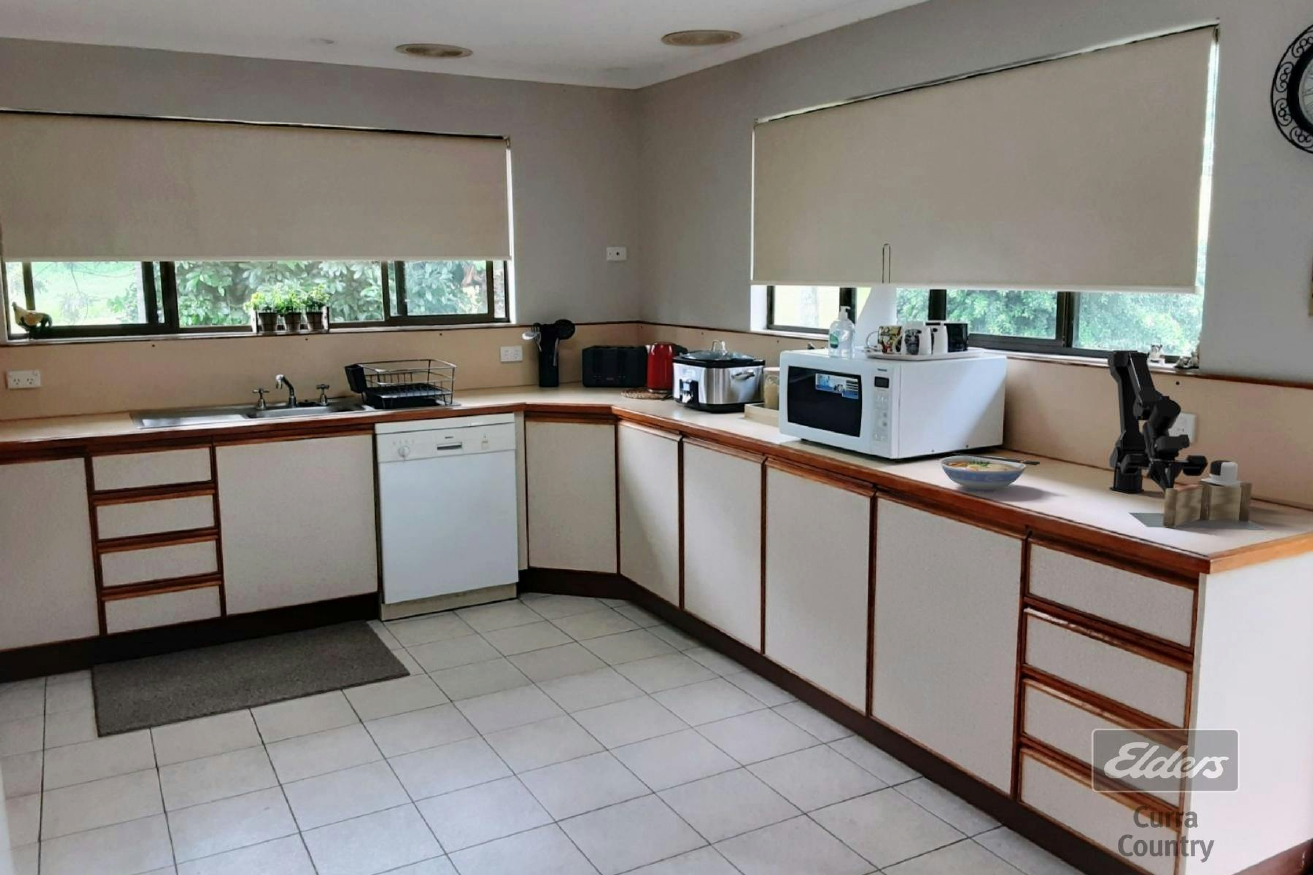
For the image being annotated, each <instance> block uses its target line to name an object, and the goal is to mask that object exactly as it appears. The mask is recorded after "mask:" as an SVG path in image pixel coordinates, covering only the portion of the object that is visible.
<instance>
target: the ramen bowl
mask: <svg viewBox="0 0 1313 875" xmlns="http://www.w3.org/2000/svg"><path fill="white" fill-rule="evenodd" d="M951 454H953V455H955V456H949V457H944V458H942V459H939V462H940V463H939V464H940V466H941V468H942V470H943V472H944V473H945V474H946V476H947V477H948V479H949V480H951V481H952V482H954V483H956V484H958V485H960V486H962V487H965V488H966V489H967V490H969V491H973V492H978V491H980V492H982V493H983V491H984V493H987V492H986V491H991V492H994V491H996V490H998V489H1002V488H1005V487H1008V486H1009V485H1011V484H1013V483H1015V481H1017V480H1018V478H1019V479H1020V477H1021V475H1022V474H1023V473H1024V471H1025V470H1026V468H1027V465H1030V466H1037V465H1040V463H1041V462H1040V461H1035V460H1034V461H1033V460H1024V459H1013V458H1006V457H1003V456H1002V457H1000V456H990V455H976V454H966V453H958V452H957V453H956V452H952V453H951ZM980 492H979V493H980Z"/></svg>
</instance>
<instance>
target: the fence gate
mask: <svg viewBox="0 0 1313 875" xmlns="http://www.w3.org/2000/svg"><path fill="white" fill-rule="evenodd" d="M1202 488H1203V485H1202V484H1198V483H1192V484H1187V485H1183V486H1182V485H1181V486H1179V487H1174V488H1166V493H1165V492H1164V493H1165V496H1164V508H1163V513H1164V518H1163V525H1164V526H1168V527H1174V526H1175V525H1178V524H1182V523H1186V522H1190V521H1194V520H1198V519H1200V510H1201V498H1202Z"/></svg>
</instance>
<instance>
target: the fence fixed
mask: <svg viewBox="0 0 1313 875" xmlns="http://www.w3.org/2000/svg"><path fill="white" fill-rule="evenodd" d="M1197 484H1202V485H1203V488H1202V498H1201V510H1200V519H1198V520H1206V517H1207V519H1209V520H1230V521H1249V519H1250V509H1251V508H1250V507H1251V499H1252V498H1251V497H1252V486H1253V483H1251V482H1246V481H1242V482H1241V483H1240V487H1231V486H1210V489H1209V482H1204V481H1201V480H1200V481H1197ZM1208 494H1209V501H1208ZM1207 505H1208V507H1207Z"/></svg>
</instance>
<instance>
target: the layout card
mask: <svg viewBox="0 0 1313 875" xmlns="http://www.w3.org/2000/svg"><path fill="white" fill-rule="evenodd" d="M1128 514H1129V515H1131V517H1134V519H1136V520H1138V521H1139V522H1140V523H1141V524H1143V525H1144V526H1146V527H1147V528H1169V529H1171V528H1172V529H1174V528H1175V529H1206V530H1207V529H1210V530H1214V529H1215V530H1246V531H1249V530H1250V531H1254V530H1255V531H1267V529H1266V528H1265V527H1262V526H1260V525H1258V524H1257V523H1256V522H1253V521H1251V519H1250V520H1249V521H1230V520H1209V519H1207V517H1206V520H1194V521H1190V522H1186V523H1182V524H1178V525H1175V526H1174V527H1168V526H1164V525H1163V518H1164V512H1163V513H1162V512H1159V513H1158V512H1128Z"/></svg>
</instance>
